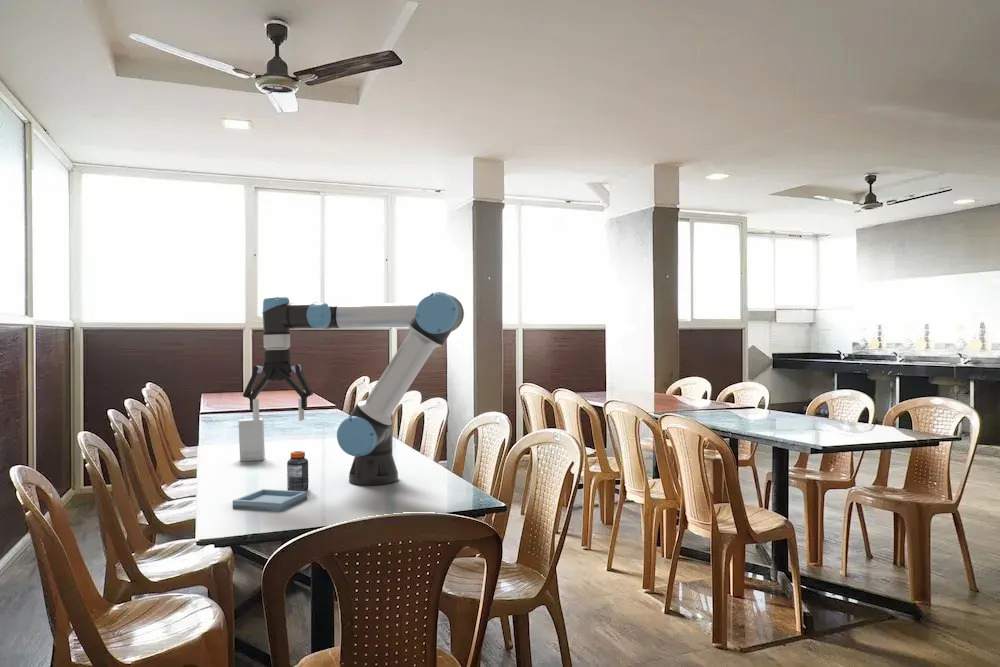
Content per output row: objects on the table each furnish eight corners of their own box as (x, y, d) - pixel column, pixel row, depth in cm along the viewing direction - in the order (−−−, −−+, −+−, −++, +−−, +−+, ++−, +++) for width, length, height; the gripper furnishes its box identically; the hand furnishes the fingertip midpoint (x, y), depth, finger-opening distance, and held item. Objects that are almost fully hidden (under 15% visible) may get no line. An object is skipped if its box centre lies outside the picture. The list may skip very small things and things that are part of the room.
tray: (307, 498, 197) (307, 491, 197) (280, 511, 183) (280, 503, 183) (262, 495, 200) (262, 488, 200) (232, 508, 187) (232, 500, 187)
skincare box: (264, 457, 260) (264, 417, 260) (263, 460, 254) (263, 419, 254) (240, 458, 258) (240, 417, 258) (238, 461, 252) (238, 420, 252)
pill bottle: (300, 487, 212) (300, 449, 212) (312, 489, 208) (312, 451, 208) (283, 490, 207) (283, 451, 207) (295, 493, 203) (295, 454, 203)
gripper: (322, 347, 214) (324, 418, 214) (240, 349, 214) (242, 419, 214) (315, 348, 206) (316, 421, 206) (230, 350, 207) (232, 423, 207)
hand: (278, 420), depth 210 cm, fingers open, 13 cm apart
